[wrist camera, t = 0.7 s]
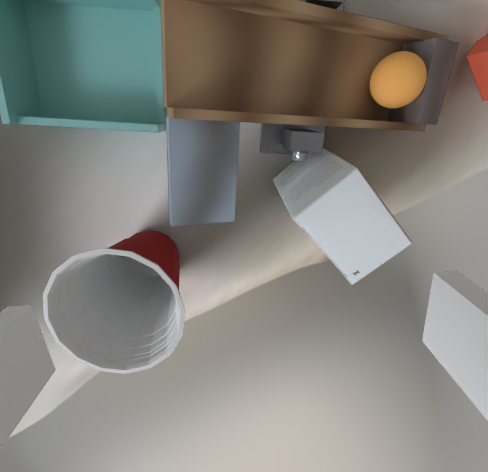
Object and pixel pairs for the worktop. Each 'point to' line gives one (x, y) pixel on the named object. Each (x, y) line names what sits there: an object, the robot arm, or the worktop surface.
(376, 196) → the small box
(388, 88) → the ball
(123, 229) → the worktop surface
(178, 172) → the lever
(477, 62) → the french fries container
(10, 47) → the tray
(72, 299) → the plastic cup
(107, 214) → the worktop surface
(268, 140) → the stand
